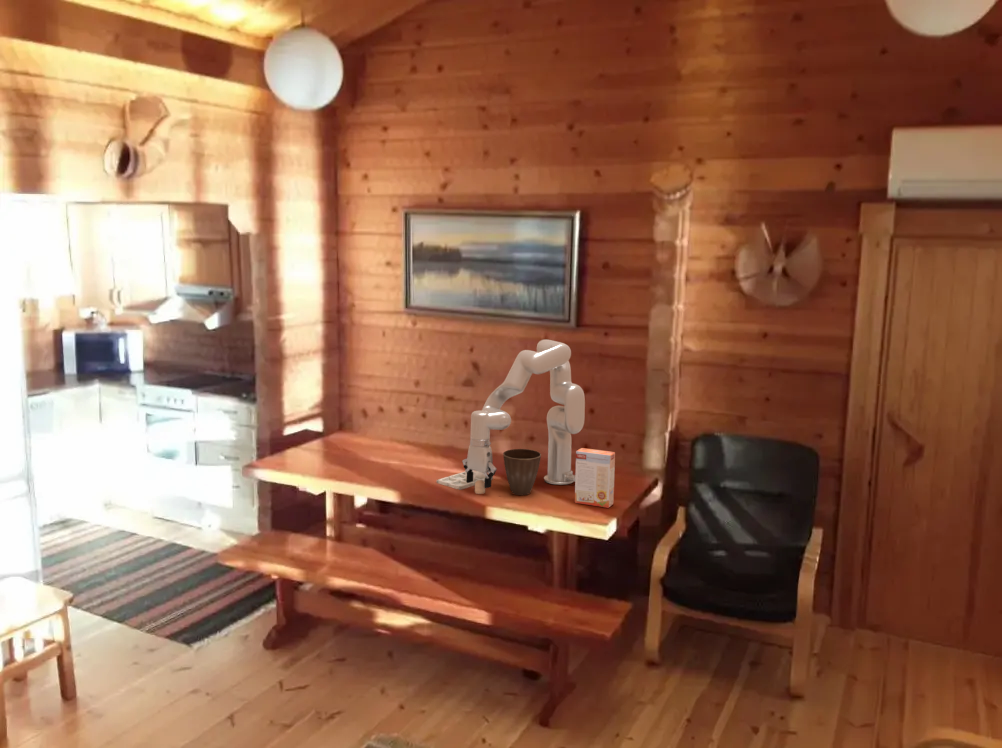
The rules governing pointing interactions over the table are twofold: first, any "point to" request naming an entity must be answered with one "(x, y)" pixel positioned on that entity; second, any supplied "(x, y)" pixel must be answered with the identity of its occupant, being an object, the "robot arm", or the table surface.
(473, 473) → the cream egg
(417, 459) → the table surface
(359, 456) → the table surface
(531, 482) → the plant pot
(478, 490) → the tan egg
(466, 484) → the white egg tray
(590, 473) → the cracker box
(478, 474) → the cream egg
